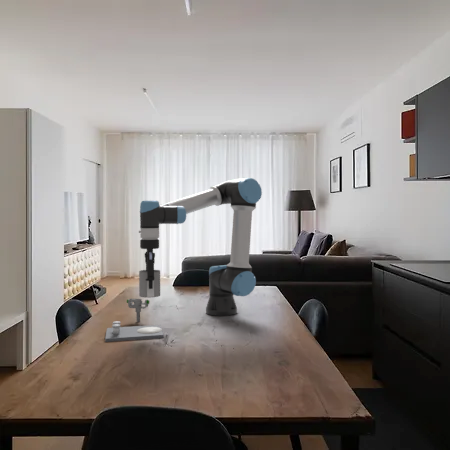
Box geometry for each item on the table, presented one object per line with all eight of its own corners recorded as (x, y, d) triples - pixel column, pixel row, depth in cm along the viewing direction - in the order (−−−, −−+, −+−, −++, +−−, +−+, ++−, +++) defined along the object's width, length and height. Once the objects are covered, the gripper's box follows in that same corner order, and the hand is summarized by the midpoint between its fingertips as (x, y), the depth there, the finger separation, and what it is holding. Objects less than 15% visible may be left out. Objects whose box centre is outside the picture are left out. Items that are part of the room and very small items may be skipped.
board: (160, 327, 187) (160, 316, 187) (163, 337, 171) (163, 325, 171) (107, 330, 182) (106, 319, 182) (105, 341, 167) (105, 329, 167)
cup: (140, 293, 182) (140, 269, 181) (160, 293, 182) (160, 269, 182) (138, 297, 173) (138, 272, 173) (159, 297, 174) (159, 272, 174)
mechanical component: (147, 322, 195) (147, 300, 195) (126, 321, 197) (125, 299, 197) (150, 321, 198) (149, 299, 198) (129, 320, 200) (128, 298, 200)
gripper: (139, 237, 187) (139, 290, 187) (141, 240, 166) (141, 300, 167) (157, 237, 188) (157, 290, 189) (161, 240, 168) (161, 299, 168)
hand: (149, 294), depth 178 cm, fingers closed on cup, 8 cm apart
